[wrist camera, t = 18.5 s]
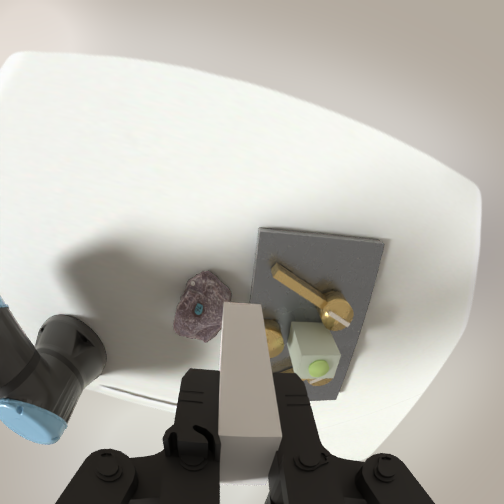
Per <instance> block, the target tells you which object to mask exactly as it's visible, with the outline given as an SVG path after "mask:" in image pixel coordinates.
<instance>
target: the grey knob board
mask: <svg viewBox="0 0 504 504" xmlns="http://www.w3.org/2000/svg"><path fill="white" fill-rule="evenodd" d="M383 248H384V243H383V242H381V241H380V240H375V239H366V238H357V237H348V236H339V235H329V234H319V233H309V232H299V231H289V230H279V229H268V228H259V230H258V239H257V247H256V256H255V264H254V272H253V281H252V289H251V298H250V304H261V307H262V313H263V319H264V326H265V332H266V338H267V344H268V351H269V357H270V363H271V369H272V373H280V372H283V371H286V370H288V369H291V368H293V365H292V361H291V357H290V353H289V349H288V345H287V342H288V337H289V332H290V327H291V322H317V323H323V322H322V320H321V318H320V316H319V313H318V311H317V306H316V305H315V304H313V303H311V302H310V301H308V300H307V299H305V298H304V297H302V296H301V295H299V294H298V293H296V292H295V291H293V290H292V289H290V288H288V287H287V286H285V285H284V284H282V283H281V282H279V281H278V280H276V279H275V278H273V276H272V272H271V269H272V267H273V266H274V265H275V264H276V262H277V263H278V264H280V265H281V266H283V267H284V268H286V269H287V270H289V271H290V272H292V273H293V274H294V275H296V276H297V277H299V278H300V279H302V280H303V281H305V282H306V283H308V284H309V285H311V286H312V287H314V288H315V289H317V290H318V291H320V292H321V293H322V294H325V293H327V292H330V291H338V292H340V293H342V294H343V295H344V297H345V298H346V300H347V301H348V303H349V304H350V306H351V308H352V309H353V313H354V315H353V319H352V321H351V323H350V325H349V326H348V327H345V328H344V329H342V330H339V331H331V330H330V332H331V334H332V337H333V339H334V341H335V343H336V345H337V347H338V350H339V352H340V354H341V357H340V360H339V363H338V366H337V369H336V372H335V376H334V378H333V379H332V380H331V381H330V382H329V383H327V384H325V385H322V386H313V385H311V384H309V383H308V381H307V380H304V381H303V382H304V383H305V386H306V390H307V394H308V397H309V401H319V400H336V398H337V396H338V393H339V391H340V388H341V385H342V383H343V380H344V377H345V375H346V372H347V369H348V366H349V364H350V361H351V358H352V355H353V352H354V349H355V346H356V343H357V340H358V337H359V334H360V331H361V328H362V325H363V321H364V318H365V315H366V312H367V308H368V305H369V301H370V298H371V294H372V291H373V287H374V283H375V280H376V276H377V272H378V268H379V264H380V260H381V256H382V252H383Z"/></svg>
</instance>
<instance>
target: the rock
mask: <svg viewBox="0 0 504 504" xmlns="http://www.w3.org/2000/svg"><path fill="white" fill-rule="evenodd" d="M231 294H232V293H231V291H230V289H229V288H228V287H227V286H226V285H225V284H223V283H222V282H221V281H220V280H219V279H218V277H217V276H215V275H213V274H212V273H211V272H210V271H206V272H205V271H202V272H201V274H196V275H195V277H194V278H191V279H190V280H189V281H188V282H187V285H186V290H185V291H184V294H183V295H182V296H181V299H180V302H179V304H178V306H177V308H176V313H175V318H174V323H173V328H174V331H175V332H176V333H177V334H178V335H180V336H186V337H188V338H191V339H193V338H195V339H196V338H197V339H199V340H202V341H203V342H205V343H206V342H208V341H209V340H211V339H212V338H214V337H215V336H216V335H217V333H218V332H219V331H220V329H221V328H222V319H223V307H224V302H230V300H231Z"/></svg>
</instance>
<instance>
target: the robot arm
mask: <svg viewBox="0 0 504 504" xmlns="http://www.w3.org/2000/svg"><path fill="white" fill-rule="evenodd" d="M105 364H106V352H105V349H104V346H103V344H102V342H101V340H100V339H99V337H98V336H97V335H96V334H95V333H94V331H93V330H92V329H91V328H89V327H88V326H87V325H86V324H84V323H83V322H81V321H79V320H78V319H75V318H73V317H70V316H66V315H55V316H52V317H50V318H49V319H47V320H46V322H45V323H44V324H43V325H42V326H41V328H40V330H39V332H38V336H37V340H36V344H35V347H34V345H33V344H32V343H31V341H30V340H29V338H28V337H27V336H26V334H25V333H24V331H23V330H22V328H21V327H20V325H19V324H18V322H17V321H16V319H15V318H14V316H13V315H12V313H11V311H10V310H9V306H8V305H7V304H5V302H4V301H3V299H2V297H1V296H0V420H1V421H2V422H3V423H4V424H5V425H6V426H7V427H8V428H10V429H11V430H12V431H14V432H15V433H17V434H18V435H20V436H22V437H24V438H25V439H27V440H30V441H32V442H35V443H39V444H45V445H46V444H47V445H50V444H54V443H56V442H57V441H58V440H59V439H60V437H61V435H62V434H63V432H64V430H65V429H66V428H67V423H68V421H69V419H70V417H71V415H72V412H73V410H74V408H75V406H76V404H77V401H78V399H79V397H80V395H81V393H82V391H83V389H84V388H85V387H86V386H88V385H89V384H90V383H91V382H92V381H93V380H95V379H96V378H98V377H99V375H100V374H101V373H102V371H103V368H104V366H105ZM163 444H164V450H163V451H161V452H159V453H157V454H155V455H151V456H145V457H135V458H129V457H128V456H127V455H125V454H124V453H122V452H121V451H117V450H113V449H101V450H98V451H95V452H93V453H91V454H90V455H89V456H88V457H87V458H86V459H85V461H84V462H83V464H82V465H81V467H80V468H79V470H78V471H77V472H76V474H75V475H74V477H73V478H72V480H71V481H70V483H69V484H68V486H67V487H66V489H65V490H64V491H63V493H62V494H61V496H60V498H59V499H58V500H57V502H56V503H55V504H220V484H226V485H266V484H267V481H268V480H269V490H270V491H269V494H268V497H267V499H266V501H265V504H435V503H434V502H433V501H432V499H431V498H430V497H429V495H428V494H427V493H426V491H425V490H424V489H423V487H422V486H421V485H420V484H419V482H418V481H417V480H416V478H415V477H414V476H413V474H412V473H411V472H410V471H409V469H408V468H407V467H406V465H405V464H404V463H403V462H402V461H401V460H400V459H399V458H397V457H396V456H393V455H391V454H385V453H380V454H375V455H372V456H371V457H369V458H368V459H367V460H366V461H365V462H361V461H353V460H347V459H342V458H338V457H336V456H334V455H332V454H330V452H329V451H328V450H327V449H325V448H324V447H323V446H322V444H321V441H320V439H319V435H318V431H317V427H316V423H315V420H314V416H313V412H312V409H311V406H310V401H309V397H308V394H307V390H306V386H305V383H304V382H303V381H302V379H301V378H300V377H299V376H298V375H297V374H296V373H272V369H271V363H270V357H269V351H268V344H267V338H266V332H265V326H264V319H263V313H262V307H261V304H248V303H234V302H224V307H223V319H222V333H221V346H220V363H219V371H216V370H204V369H193V368H190V369H189V370H188V371H187V373H186V374H185V375H184V376H183V377H182V381H181V386H180V392H179V398H178V403H177V409H176V415H175V421H174V425H172V426H171V427H170V428H169V429H167V430H166V432H165V434H164V436H163Z"/></svg>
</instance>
